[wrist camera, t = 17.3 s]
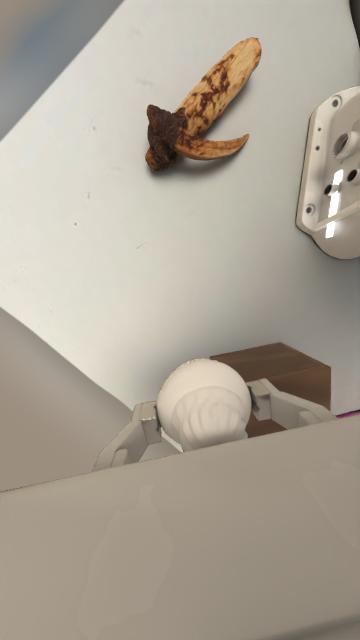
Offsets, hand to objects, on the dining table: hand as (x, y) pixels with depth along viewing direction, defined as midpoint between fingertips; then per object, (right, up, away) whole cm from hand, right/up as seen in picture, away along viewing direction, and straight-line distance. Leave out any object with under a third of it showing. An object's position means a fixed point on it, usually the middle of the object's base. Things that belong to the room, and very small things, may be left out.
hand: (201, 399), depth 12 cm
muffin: (0, +1, +3) cm, 3 cm away
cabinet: (+11, -7, +20) cm, 24 cm away
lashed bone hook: (+2, +31, +12) cm, 33 cm away
